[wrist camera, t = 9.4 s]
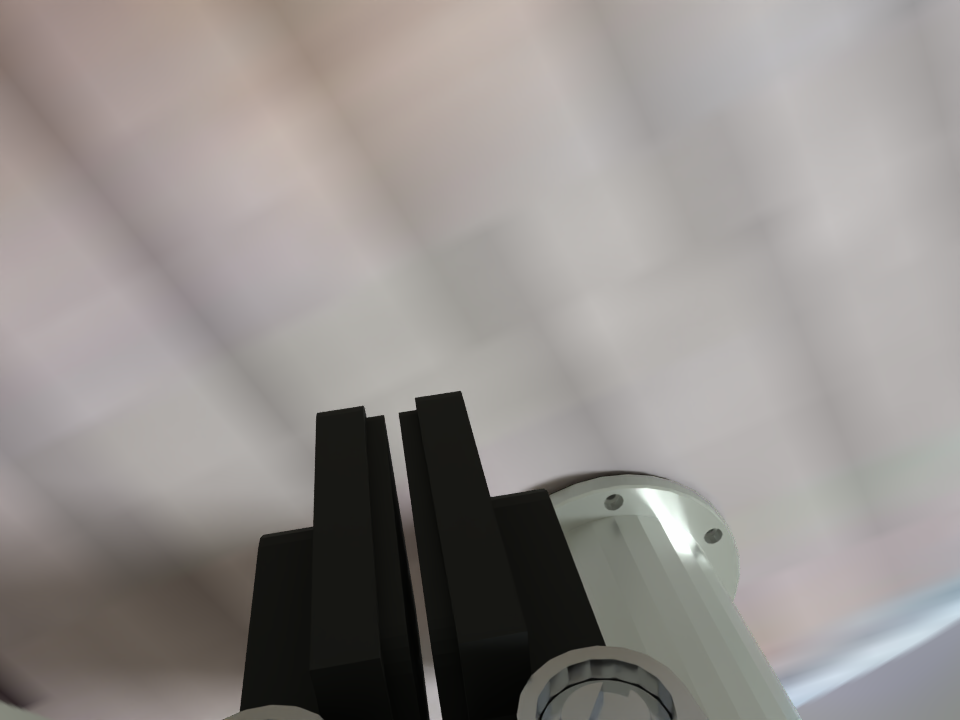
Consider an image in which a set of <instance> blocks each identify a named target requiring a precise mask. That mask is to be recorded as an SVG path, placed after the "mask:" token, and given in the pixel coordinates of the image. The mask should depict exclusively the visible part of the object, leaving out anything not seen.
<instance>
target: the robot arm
mask: <svg viewBox="0 0 960 720" xmlns="http://www.w3.org/2000/svg"><path fill="white" fill-rule="evenodd" d="M415 402H416V409H417V410H413V411H407V412H401V413H399V419H400V426H401V433H402V440H403V448H404V455H405V462H406V469H407V477H408V484H409V491H410V498H411V505H412V513H413V520H414V527H415V534H416V542H417V549H418V556H419V563H420V570H421V578H422V585H423V592H424V599H425V607H426V614H427V621H428V628H429V635H430V642H431V649H432V655H433V662H434V669H435V675H436V681H437V688H438V694H439V700H440V707H441V713H442V720H802V719H801V717H800V715H799V714H798V712H797V710H796V708H795V707H794V705H793V703H792V702H791V700H790V698H789V696H788V695H787V693H786V691H785V690H784V688H783V686H782V684H781V683H780V681H779V679H778V678H777V676H776V674H775V672H774V671H773V669H772V667H771V666H770V664H769V662H768V661H767V659H766V657H765V655H764V654H763V652H762V650H761V649H760V647H759V645H758V643H757V642H756V640H755V638H754V637H753V635H752V633H751V631H750V630H749V628H748V626H747V625H746V623H745V621H744V620H743V618H742V616H741V614H740V613H739V611H738V609H737V608H736V606H735V604H734V602H733V600H734V598H735V596H736V591H737V586H738V582H739V577H740V562H739V553H738V550H737V546H736V543H735V539H734V537H733V535H732V533H731V532H730V530H729V528H728V527H727V525H726V523H725V521H724V520H723V518H722V517H721V516H720V514H719V513H718V512H717V511H716V509H715V508H714V507H713V505H712V504H711V503H710V502H708V501H707V500H706V499H705V498H703V497H702V496H701V495H700V494H698V493H697V492H696V491H694V490H692V489H690V488H688V487H686V486H683V485H681V484H679V483H677V482H675V481H671V480H667V479H663V478H659V477H655V476H646V475H631V474H626V475H616V476H606V477H600V478H596V479H592V480H588V481H584V482H581V483H577V484H574V485H572V486H569V487H567V488H565V489H563V490H560V491H558V492H556V493H553V494H551V495H548V492H547V491H546V490H545V489H538V490H532V491H526V492H520V493H514V494H508V495H502V496H496V497H490V494H489V490H488V487H487V483H486V479H485V476H484V472H483V469H482V465H481V461H480V458H479V454H478V450H477V447H476V443H475V440H474V436H473V432H472V429H471V425H470V421H469V418H468V414H467V411H466V407H465V403H464V400H463V396H462V393H461V391H457V392H450V393H444V394H437V395H431V396H424V397H418V398H415ZM223 720H430V719H429V711H428V703H427V695H426V686H425V678H424V670H423V662H422V654H421V646H420V638H419V630H418V622H417V615H416V608H415V601H414V595H413V589H412V582H411V576H410V570H409V564H408V558H407V552H406V546H405V540H404V534H403V528H402V521H401V515H400V509H399V503H398V497H397V491H396V485H395V479H394V473H393V466H392V460H391V454H390V448H389V442H388V436H387V430H386V424H385V418H384V415H381V416H375V417H368V418H366V413H365V408H364V406H359V407H353V408H346V409H340V410H333V411H327V412H320V413H317V416H316V447H315V483H314V520H313V527H309V528H302V529H296V530H290V531H284V532H278V533H272V534H266V535H263V536H262V537H261V538H260V542H259V547H258V555H257V564H256V573H255V582H254V591H253V600H252V608H251V617H250V626H249V635H248V644H247V653H246V661H245V670H244V679H243V688H242V697H241V706H240V712H239V713H237V714H234V715H232V716H230V717H227V718H225V719H223Z"/></svg>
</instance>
